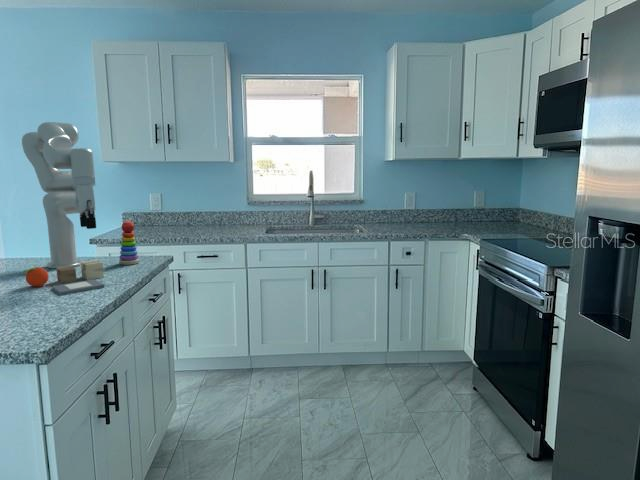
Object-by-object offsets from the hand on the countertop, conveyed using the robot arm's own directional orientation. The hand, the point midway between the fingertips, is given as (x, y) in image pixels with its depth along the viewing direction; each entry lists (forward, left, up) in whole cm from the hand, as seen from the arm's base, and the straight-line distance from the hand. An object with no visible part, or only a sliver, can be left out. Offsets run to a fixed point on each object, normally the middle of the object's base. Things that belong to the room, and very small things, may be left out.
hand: (88, 227), depth 167 cm
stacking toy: (-15, +20, -20) cm, 32 cm away
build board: (+13, -9, -20) cm, 25 cm away
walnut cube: (0, -9, -20) cm, 22 cm away
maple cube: (0, 0, -20) cm, 20 cm away
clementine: (0, -19, -20) cm, 27 cm away
